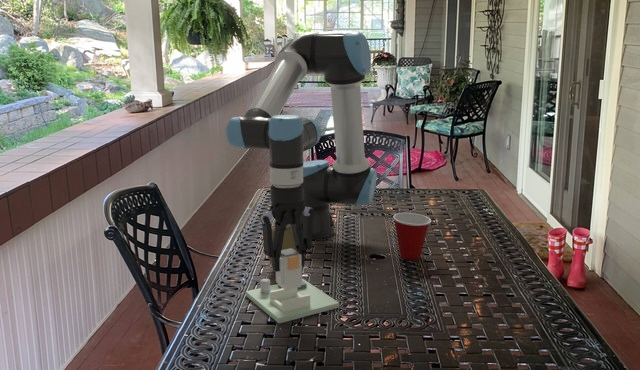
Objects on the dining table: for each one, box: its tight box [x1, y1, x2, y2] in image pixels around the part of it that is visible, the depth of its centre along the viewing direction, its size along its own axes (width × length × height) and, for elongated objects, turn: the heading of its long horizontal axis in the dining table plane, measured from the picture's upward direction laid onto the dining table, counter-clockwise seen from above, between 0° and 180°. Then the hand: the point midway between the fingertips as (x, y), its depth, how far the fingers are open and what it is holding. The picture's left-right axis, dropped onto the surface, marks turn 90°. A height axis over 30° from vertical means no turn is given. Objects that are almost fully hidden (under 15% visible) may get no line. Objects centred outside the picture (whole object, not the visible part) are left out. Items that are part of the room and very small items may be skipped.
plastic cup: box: [392, 212, 432, 261], centre depth 183 cm, size 11×11×12 cm
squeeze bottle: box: [268, 220, 297, 273], centre depth 173 cm, size 8×8×18 cm
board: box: [245, 278, 340, 324], centre depth 155 cm, size 18×16×4 cm
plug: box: [277, 248, 301, 290], centre depth 149 cm, size 5×4×8 cm
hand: (288, 281), depth 150 cm, fingers closed on plug, 4 cm apart
